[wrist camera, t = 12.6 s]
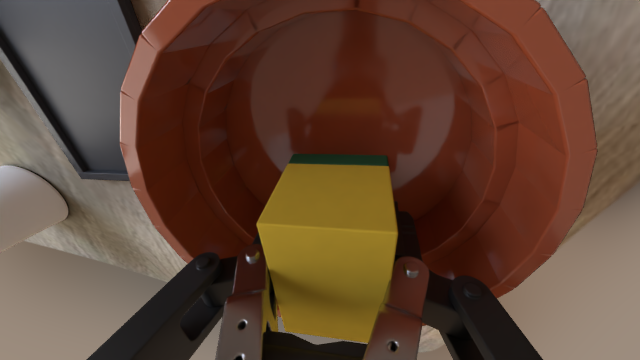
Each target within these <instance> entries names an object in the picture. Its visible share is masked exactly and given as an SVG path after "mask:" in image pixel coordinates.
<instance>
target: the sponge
mask: <svg viewBox="0 0 640 360" xmlns="http://www.w3.org/2000/svg"><path fill="white" fill-rule="evenodd" d="M257 228H258V232H259V235H260V239H261V243H262V247H263V250H264V254H265V258H266V261H267V265H268V269H269V272H270V276H271V280H272V284H273V287H274V291H275V295H276V298H277V302H278V306H279V310H280V313H281V317H282V321H283V324H284V328H285V331H286V332H293V333H300V334H308V335H315V336H322V337H330V338H337V339H344V340H351V341H359V342H366V343H368V342H369V338H370V335H371V332H372V329H373V326H374V322H375V319H376V316H377V313H378V310H379V307H380V304H381V303H382V302H383V299H384V296H385V293H386V289H387V286H388V283H389V280H391V278H392V271H393V265H394V258H395V252H396V245H397V238H398V228H397V220H396V213H395V206H394V199H393V191H392V184H391V177H390V169H389V163H388V157H387V156H386V155H345V154H293V155H292V157H291V159H290V161H289V163H288V164H287V166H286V168H285V170H284V172H283V174H282V176H281V178H280V179H279V181H278V183H277V185H276V187H275V189H274V191H273V193H272V195H271V197H270V199H269V201H268V202H267V204H266V206H265V208H264V210H263V212H262V214H261V216H260V218H259V220H258V222H257Z"/></svg>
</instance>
